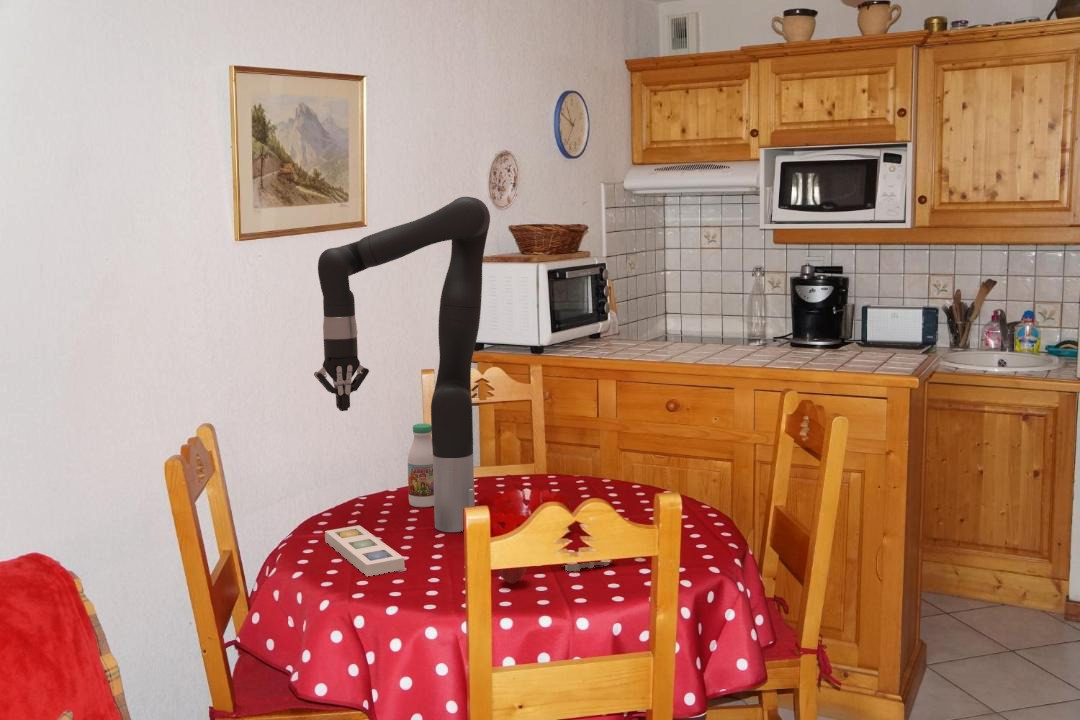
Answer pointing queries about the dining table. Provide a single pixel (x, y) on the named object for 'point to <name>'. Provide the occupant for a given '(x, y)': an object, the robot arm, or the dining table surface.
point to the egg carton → (584, 565)
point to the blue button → (377, 555)
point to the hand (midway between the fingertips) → (343, 410)
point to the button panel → (364, 551)
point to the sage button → (362, 544)
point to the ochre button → (349, 533)
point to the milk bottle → (421, 467)
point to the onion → (512, 574)
